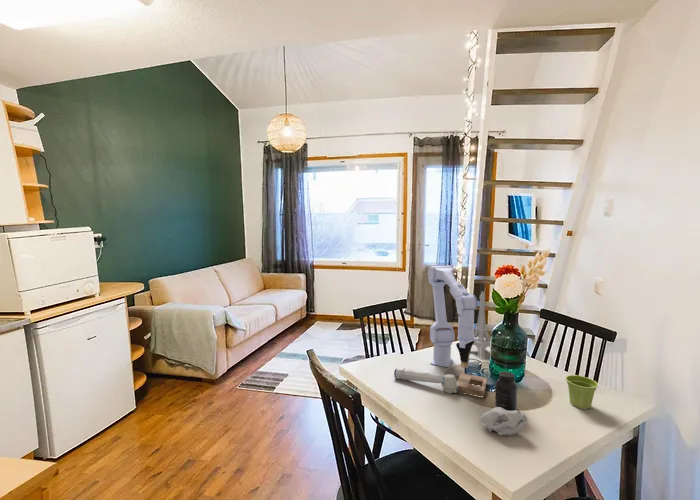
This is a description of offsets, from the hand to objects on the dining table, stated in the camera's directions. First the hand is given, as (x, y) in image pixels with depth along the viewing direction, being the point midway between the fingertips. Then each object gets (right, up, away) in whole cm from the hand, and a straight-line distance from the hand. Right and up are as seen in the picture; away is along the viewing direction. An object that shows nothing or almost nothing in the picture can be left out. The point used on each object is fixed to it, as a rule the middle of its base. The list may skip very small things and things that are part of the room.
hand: (464, 360), depth 133 cm
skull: (+2, -13, -29) cm, 31 cm away
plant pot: (+36, -12, -14) cm, 40 cm away
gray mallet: (-15, -10, +1) cm, 18 cm away
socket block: (+2, -10, -2) cm, 11 cm away
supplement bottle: (+9, -12, -15) cm, 21 cm away
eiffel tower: (+19, -7, +34) cm, 40 cm away
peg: (0, -3, 0) cm, 3 cm away
